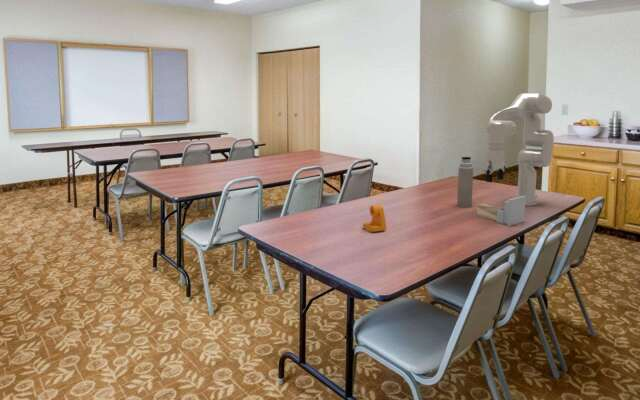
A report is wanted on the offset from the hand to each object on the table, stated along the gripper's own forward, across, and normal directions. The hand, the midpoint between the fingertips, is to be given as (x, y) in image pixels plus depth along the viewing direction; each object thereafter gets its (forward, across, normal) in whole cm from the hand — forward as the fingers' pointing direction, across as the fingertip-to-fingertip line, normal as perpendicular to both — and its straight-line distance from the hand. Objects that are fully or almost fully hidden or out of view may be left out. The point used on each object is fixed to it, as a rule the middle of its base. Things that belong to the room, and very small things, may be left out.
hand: (494, 180), depth 253 cm
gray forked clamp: (+20, 0, +9) cm, 22 cm away
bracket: (+20, +60, -25) cm, 68 cm away
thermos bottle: (+20, -13, -27) cm, 36 cm away
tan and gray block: (+20, 0, 0) cm, 20 cm away
